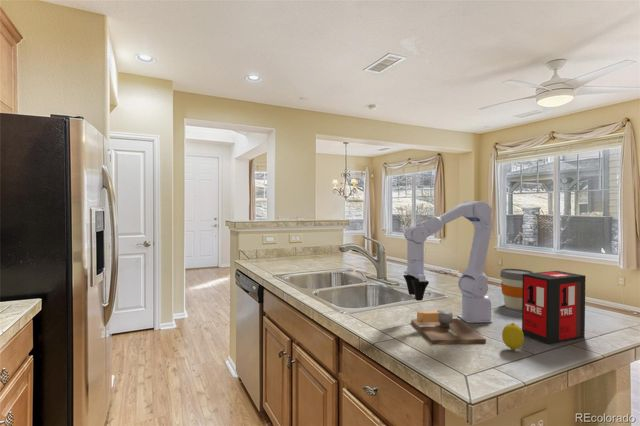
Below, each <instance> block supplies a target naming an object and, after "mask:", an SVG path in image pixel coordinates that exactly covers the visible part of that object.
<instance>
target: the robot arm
mask: <svg viewBox="0 0 640 426" xmlns="http://www.w3.org/2000/svg"><path fill="white" fill-rule="evenodd" d="M492 212H493V208H492V207H491V205H490V204H489V203H488V202H487V201H485V200H479V201H477V200H476V201H473V200H472V201H470V200H469V201H468V200H466V201H464V202H462V203H459V204H457V205H456V206H454V207H452V208H451V209H449V210H447V211H446V212H444V213H443V214H441V215H439V216H437V215H429V216H427V217H426V219H424V220H423V221H420V222H417V223H416V225H409V227H407V228H406V229H405V233H404V235H403V236H404V238H405V240H406V242H407V243H406V244H407V246H406V247H407V248H406V252H407V253H406V256H407V257H406V258H407V260H406V261H407V262H406V263H407V264H406V265H407V266H406V267H407V268H406V271H403V274H404V275H403V278H404V280H405V283H406V285H407V291H408V295H412V296H414V297H415V301H417V302H418V301H423V299H424V295H425V291H426V289H427V287H428V285H429V283H430V282H429V281H428V280H426V275H425V265H424V264H425V260H424V259H425V251H424V250H425V242H426V240H427V238H428V237H430V236H432V235H435V234H436V233H438V232H440V231H441V230H443V227H444V225H446V224H448V223H450V222H452V221H455V220H457V219H459V218H461V217H463V218H464V219H466V220H468V221H469V222H471V224H472V225H473V227H474V232H473V238H472V243H471V249H470V253H469V254H470V255H469V258H468V263H467V268H466V269H464V270H463V271H462V274H461V277H460V278H459V280H458V289H460V291H461V294H462V295H461V296H462V297H461V298H462V299H461V314H457V317H458V318H460V319H461V320H463V321H464V322H466V323H468V324H470V323H472V324H473V323H493V320H492V301H491V299H490V297H489V296H488V295H487V294H488V291H489V284H488V280H489V279H488V278H489V277H488V276H487V275H486V272H484V270H485V266H486V261H487V260H486V259H487V256H488V250H489V245H490V239H491V235H492V229H493V221H492V220H493V219H492Z"/></svg>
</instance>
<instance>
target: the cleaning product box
mask: <svg viewBox="0 0 640 426" xmlns="http://www.w3.org/2000/svg"><path fill="white" fill-rule="evenodd" d="M521 312H522V313H521V329H522V331H523V334H524V337H528V338H530V339H533V340H535V341H538V342H540V343H542V344H545V345H548V346H549V345H554V344H560V343H565V342H570V341H575V340H581V339H584V338H585V337H586V335H585V333H586V332H585V330H586V326H585V325H586V275H584V274H577V273H572V272H568V271H567V272H566V271H560V270H552V271H551V270H550V271H540V272H534V273H527V274H523V287H522V310H521Z"/></svg>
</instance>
